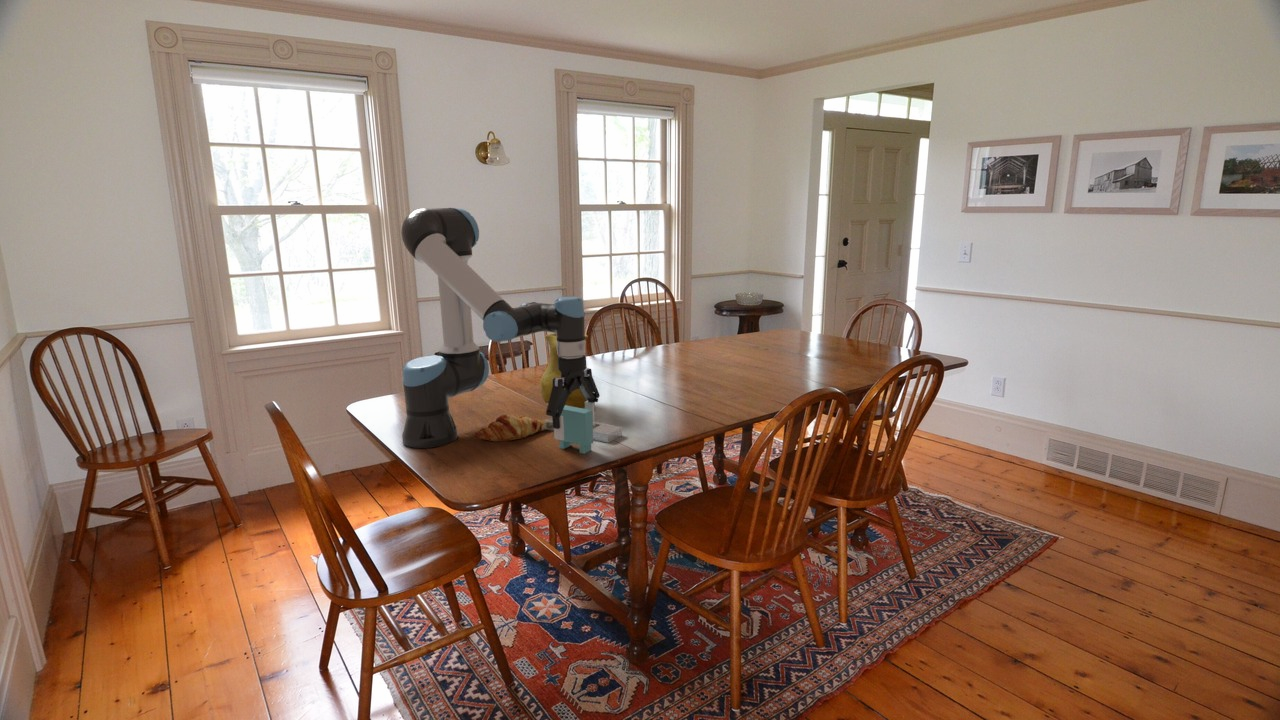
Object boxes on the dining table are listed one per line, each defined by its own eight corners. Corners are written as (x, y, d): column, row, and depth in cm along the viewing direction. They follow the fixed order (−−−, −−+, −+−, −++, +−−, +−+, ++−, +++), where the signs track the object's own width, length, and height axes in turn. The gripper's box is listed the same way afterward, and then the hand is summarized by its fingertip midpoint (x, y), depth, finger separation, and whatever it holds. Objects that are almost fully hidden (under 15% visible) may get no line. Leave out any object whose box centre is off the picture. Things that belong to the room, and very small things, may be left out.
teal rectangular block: (586, 454, 174) (584, 413, 171) (557, 447, 179) (555, 407, 177) (593, 450, 177) (592, 410, 174) (564, 444, 182) (563, 404, 179)
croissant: (543, 438, 197) (538, 412, 199) (554, 431, 188) (548, 405, 190) (474, 449, 187) (469, 422, 188) (482, 443, 178) (477, 415, 180)
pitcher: (529, 411, 210) (529, 335, 205) (562, 399, 226) (563, 328, 221) (573, 420, 202) (575, 341, 197) (604, 406, 219) (606, 333, 214)
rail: (608, 442, 182) (607, 434, 182) (542, 428, 195) (542, 420, 194) (622, 435, 188) (621, 427, 187) (557, 421, 201) (557, 414, 200)
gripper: (552, 367, 160) (556, 448, 164) (610, 348, 180) (612, 420, 185) (529, 363, 164) (534, 443, 168) (588, 345, 184) (591, 417, 189)
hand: (575, 431), depth 177 cm, fingers open, 13 cm apart
